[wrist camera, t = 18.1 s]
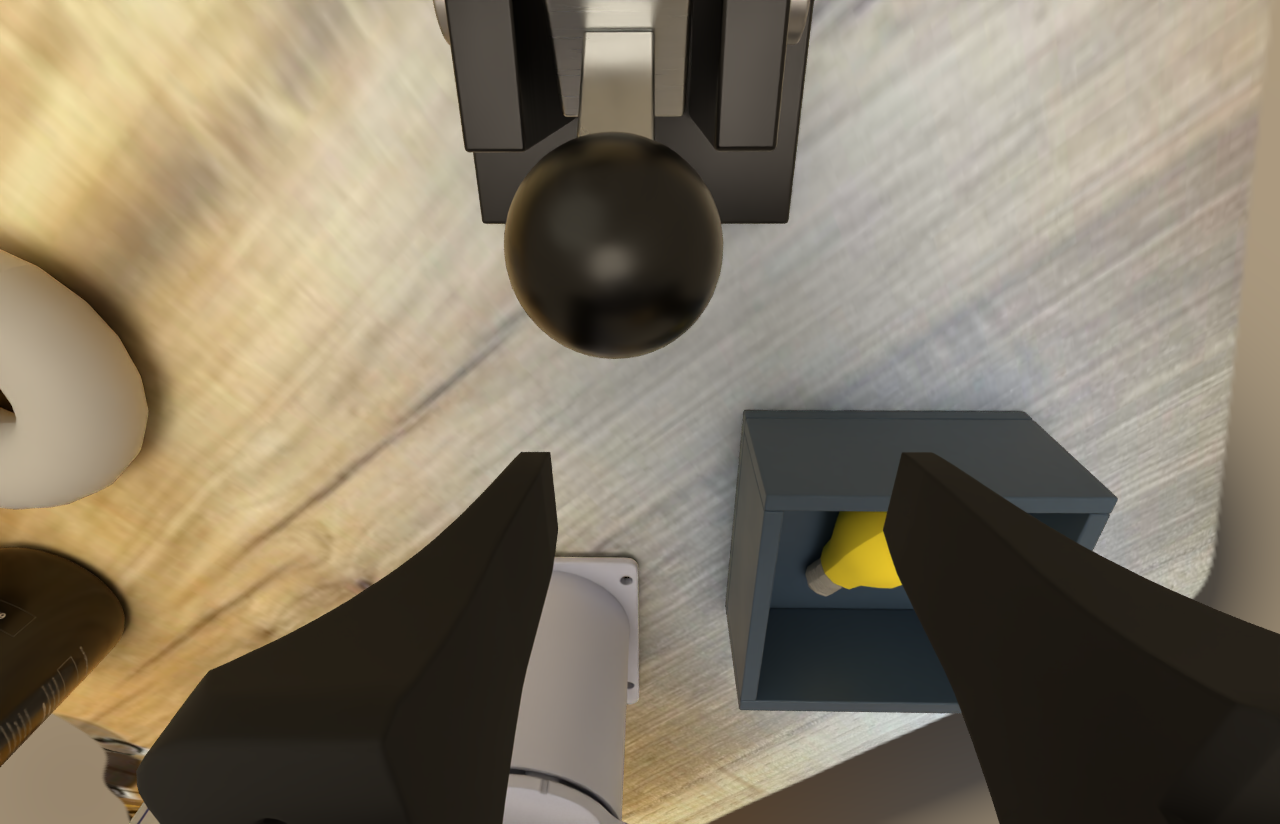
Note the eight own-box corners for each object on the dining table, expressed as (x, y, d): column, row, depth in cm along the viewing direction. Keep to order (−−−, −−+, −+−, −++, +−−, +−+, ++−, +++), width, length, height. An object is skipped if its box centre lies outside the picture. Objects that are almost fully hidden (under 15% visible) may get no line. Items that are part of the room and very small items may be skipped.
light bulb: (931, 475, 22) (976, 564, 20) (829, 547, 26) (858, 628, 24) (864, 464, 21) (905, 559, 19) (767, 542, 25) (793, 627, 23)
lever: (714, 391, 9) (744, 286, 6) (520, 390, 9) (463, 286, 6) (702, 21, 12) (718, -168, 9) (552, 22, 12) (520, -165, 9)
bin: (952, 608, 27) (1012, 715, 22) (725, 605, 27) (738, 710, 23) (1024, 411, 22) (1120, 498, 17) (743, 409, 22) (765, 495, 18)
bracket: (781, 215, 18) (871, 318, 11) (491, 215, 19) (379, 317, 11) (830, -241, 14) (1062, -644, 6) (434, -235, 14) (158, -619, 6)
